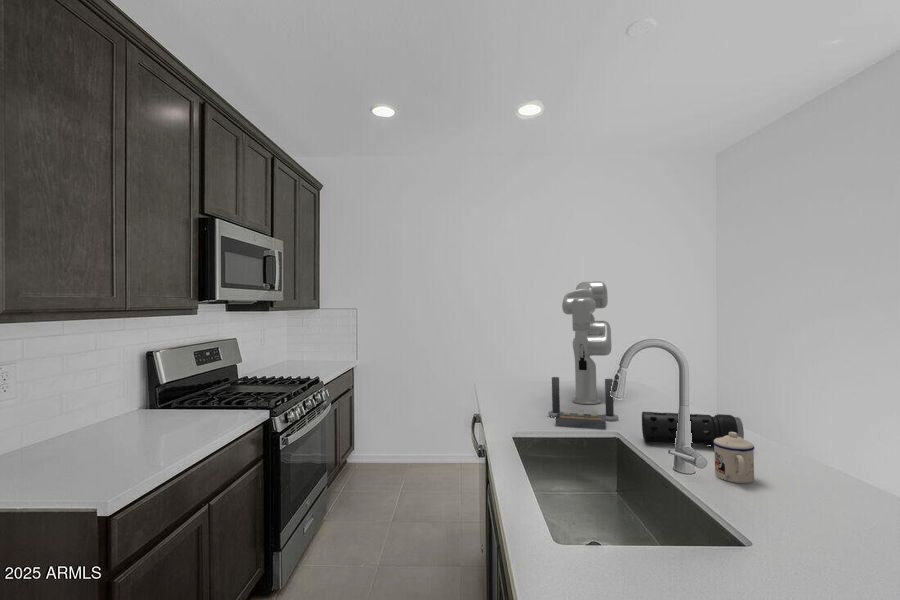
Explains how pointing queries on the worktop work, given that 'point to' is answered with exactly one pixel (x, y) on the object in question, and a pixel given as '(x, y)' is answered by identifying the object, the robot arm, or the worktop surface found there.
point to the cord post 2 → (609, 402)
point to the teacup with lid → (734, 458)
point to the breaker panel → (581, 420)
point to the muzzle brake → (702, 427)
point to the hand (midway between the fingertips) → (582, 369)
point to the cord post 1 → (555, 397)
